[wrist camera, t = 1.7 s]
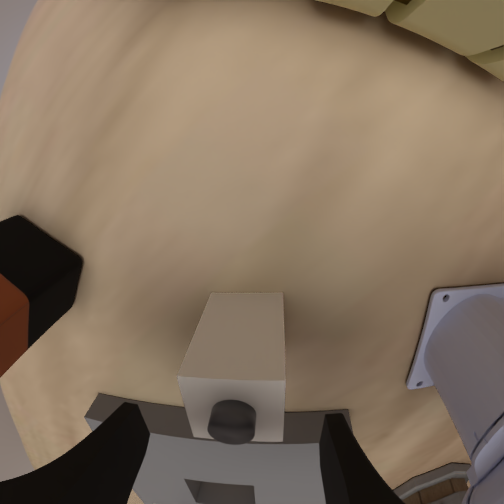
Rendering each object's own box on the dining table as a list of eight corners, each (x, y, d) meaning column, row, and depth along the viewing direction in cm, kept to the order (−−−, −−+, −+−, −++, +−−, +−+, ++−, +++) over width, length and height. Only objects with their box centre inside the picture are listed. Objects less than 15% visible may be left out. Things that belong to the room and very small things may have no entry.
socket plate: (348, 409, 20) (355, 446, 16) (317, 505, 26) (318, 529, 23) (98, 393, 21) (81, 421, 18) (156, 493, 28) (150, 515, 24)
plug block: (283, 292, 17) (286, 400, 9) (282, 350, 18) (282, 459, 10) (211, 292, 17) (169, 394, 10) (217, 349, 18) (189, 453, 11)
